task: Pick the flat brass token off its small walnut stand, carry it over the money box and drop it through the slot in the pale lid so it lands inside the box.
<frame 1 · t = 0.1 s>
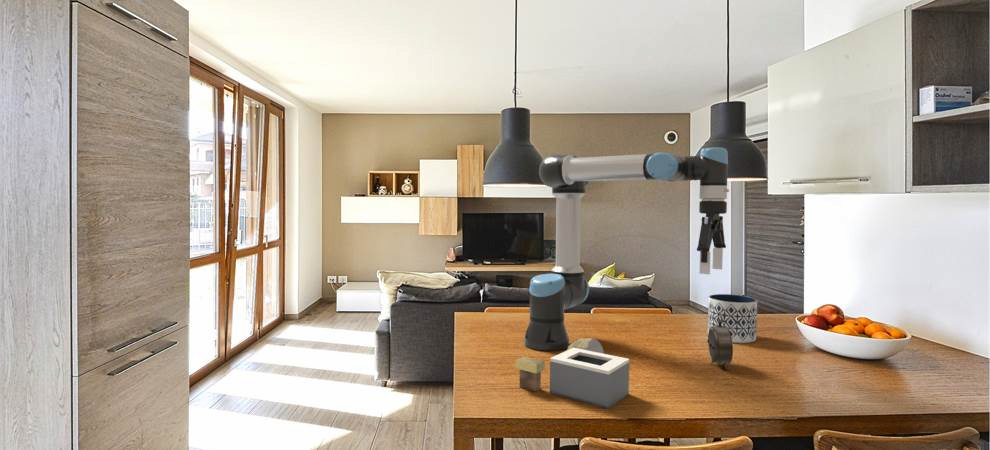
hand: (711, 271, 154), 28 cm above the table, fingers open, 13 cm apart
coral: (585, 369, 150), on the table
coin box: (589, 393, 130), on the table
planter: (731, 338, 185), on the table
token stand: (530, 387, 134), on the table
token: (530, 368, 134), point 5 cm above the table, touching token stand
alarm clock: (718, 366, 153), on the table
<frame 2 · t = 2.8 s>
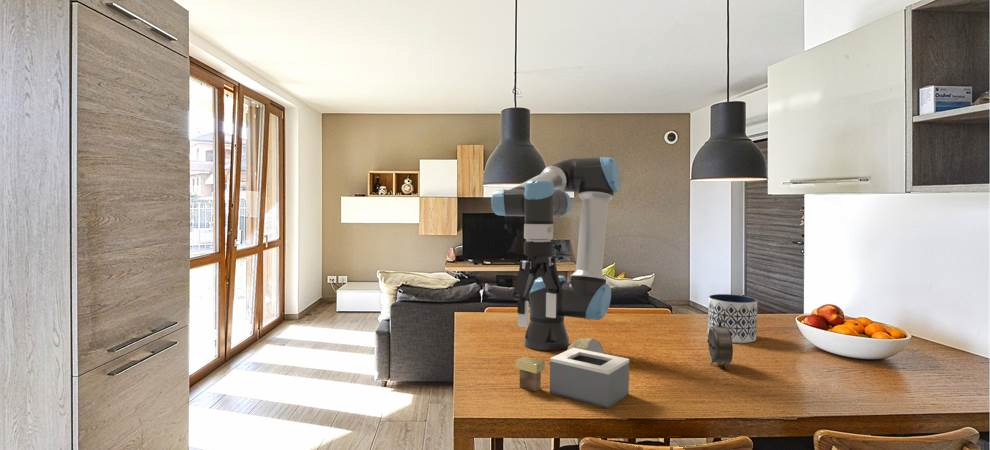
hand: (537, 321, 134), 17 cm above the table, fingers open, 13 cm apart
nothing on the table moved.
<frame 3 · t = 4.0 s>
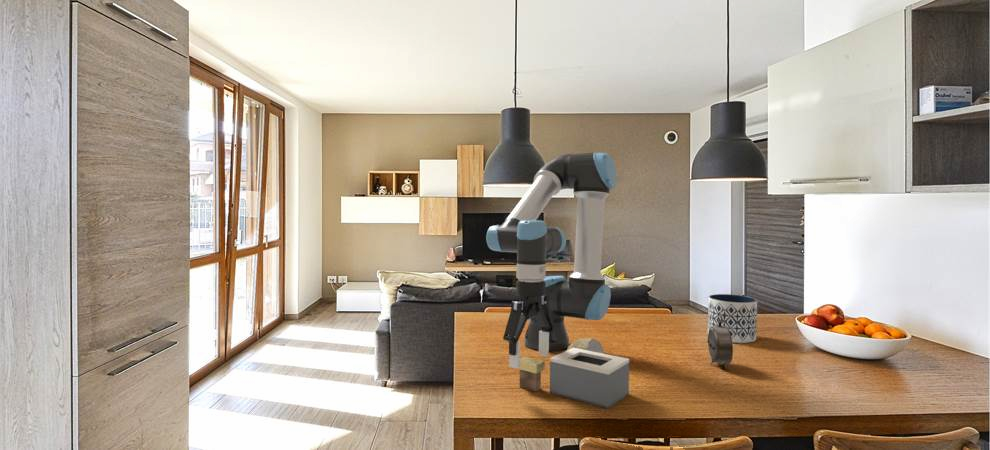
hand: (529, 361, 134), 7 cm above the table, fingers open, 13 cm apart
nothing on the table moved.
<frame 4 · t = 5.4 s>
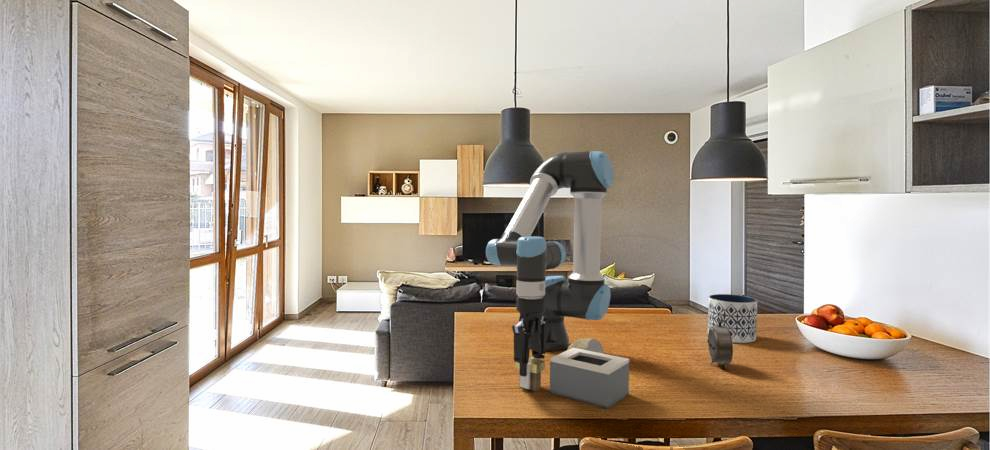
hand: (530, 384, 134), 1 cm above the table, fingers closed on token, 4 cm apart
token: (530, 368, 134), point 5 cm above the table, touching gripper, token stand
everything else where it was.
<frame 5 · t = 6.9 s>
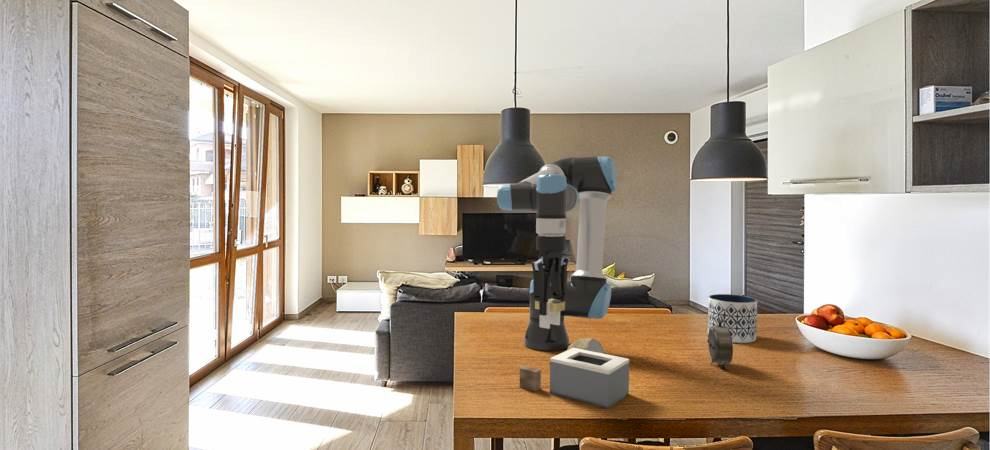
hand: (549, 325, 132), 17 cm above the table, fingers closed on token, 4 cm apart
token: (549, 309, 132), point 21 cm above the table, touching gripper
everything else where it was.
when the fingers open (10 cm above the table, at t = 8.8 s): token drops 13 cm, resting on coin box.
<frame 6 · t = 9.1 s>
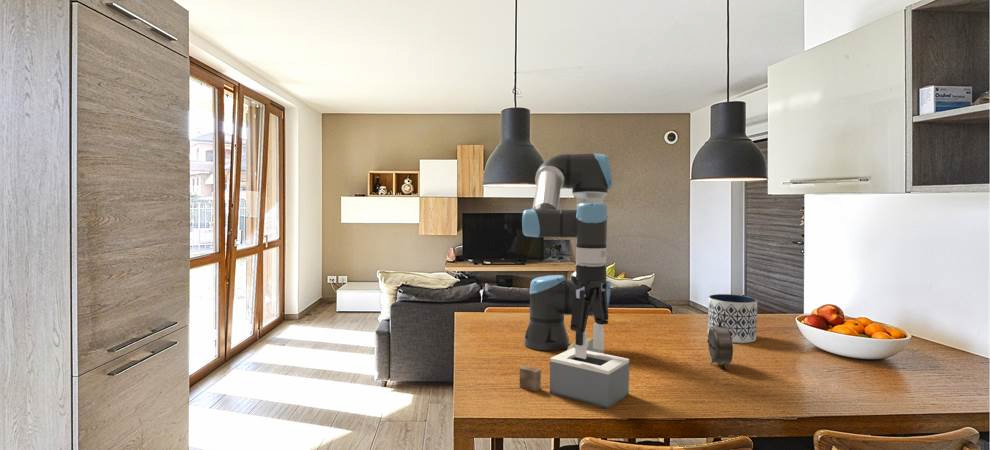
hand: (589, 353, 130), 10 cm above the table, fingers open, 9 cm apart
token: (589, 391, 130), point 1 cm above the table, touching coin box
everything else where it was.
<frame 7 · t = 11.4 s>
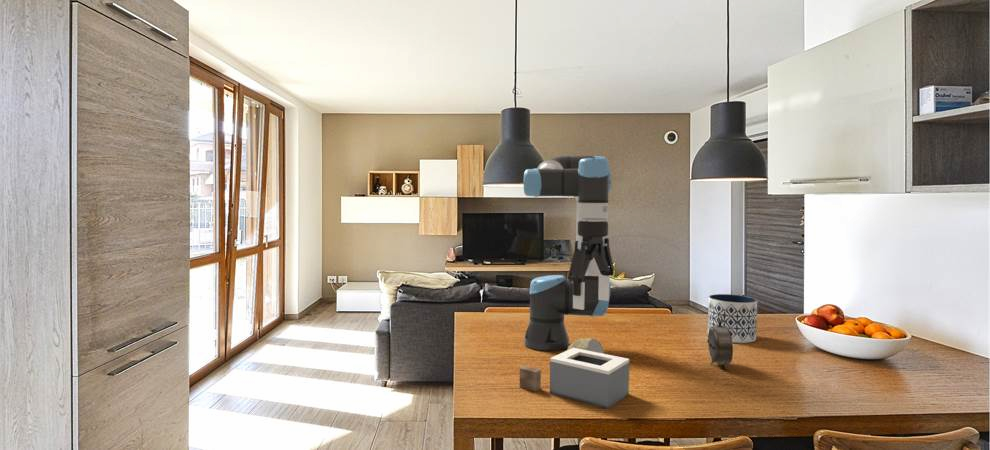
hand: (591, 304, 130), 23 cm above the table, fingers open, 13 cm apart
nothing on the table moved.
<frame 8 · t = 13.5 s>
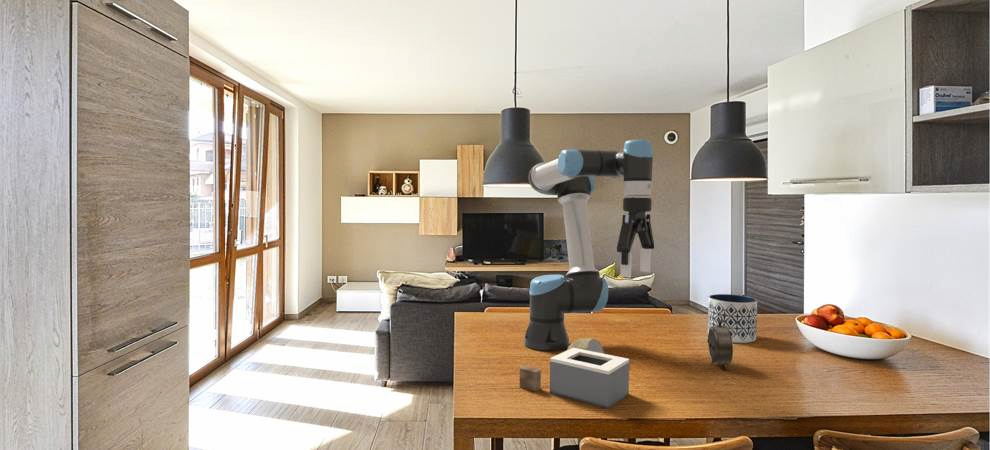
hand: (635, 274, 142), 29 cm above the table, fingers open, 13 cm apart
nothing on the table moved.
at the end: token inside the target area on the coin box (0.0 cm from its centre), point 0.6 cm above the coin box's base; the gripper is holding nothing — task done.
